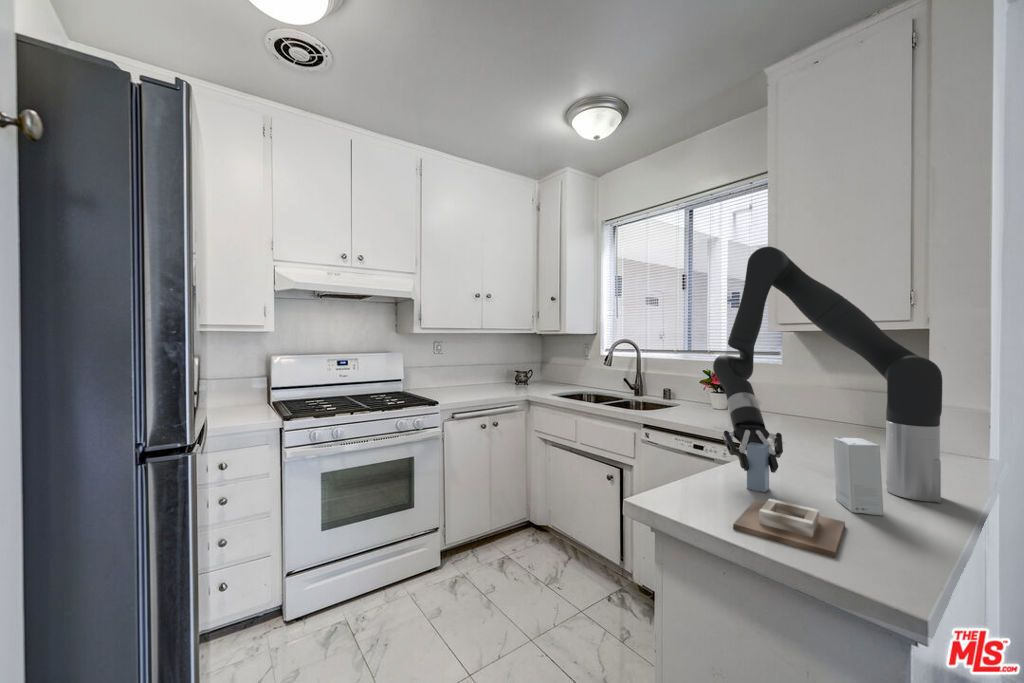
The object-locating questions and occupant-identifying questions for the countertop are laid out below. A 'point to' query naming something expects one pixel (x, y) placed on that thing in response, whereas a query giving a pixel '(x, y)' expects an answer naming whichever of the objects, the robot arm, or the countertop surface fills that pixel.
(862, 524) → the countertop surface
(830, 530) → the socket board
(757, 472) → the plug
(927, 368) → the robot arm
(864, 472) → the skincare box
